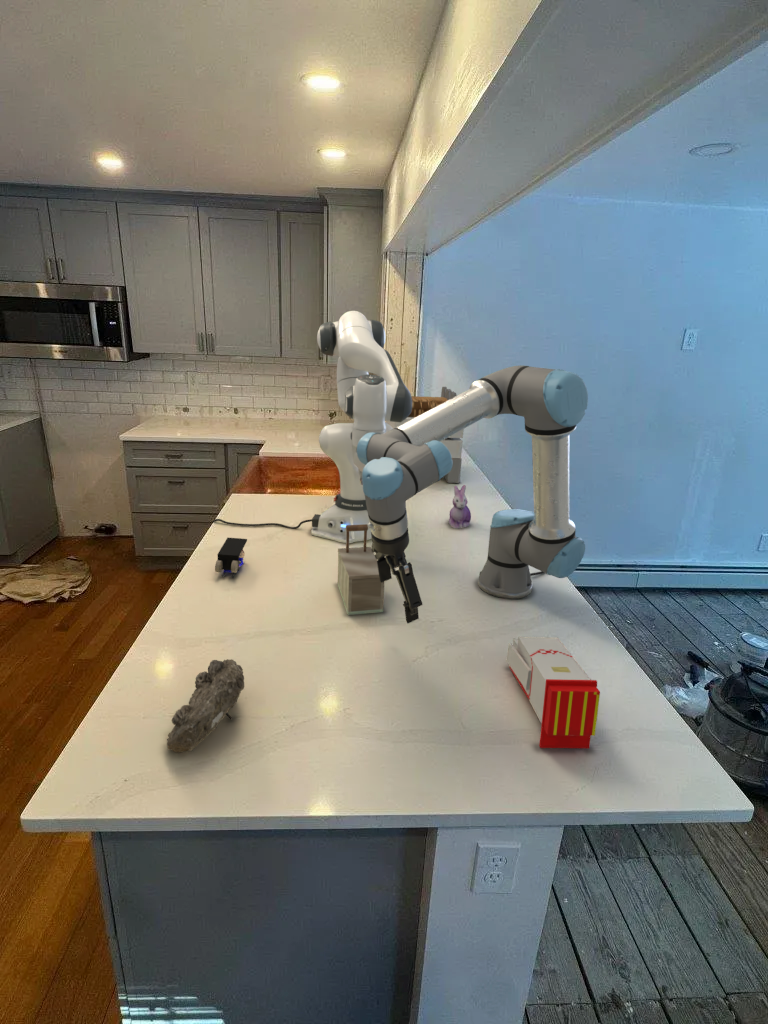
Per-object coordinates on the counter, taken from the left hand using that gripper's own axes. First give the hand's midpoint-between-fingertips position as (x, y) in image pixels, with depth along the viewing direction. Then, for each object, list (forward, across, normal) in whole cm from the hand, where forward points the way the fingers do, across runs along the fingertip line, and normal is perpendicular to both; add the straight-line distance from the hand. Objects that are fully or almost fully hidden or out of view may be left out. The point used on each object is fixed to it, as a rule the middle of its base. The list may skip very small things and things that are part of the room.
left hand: (367, 489), depth 154 cm
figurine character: (+28, +16, +36) cm, 49 cm away
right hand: (+15, -34, +1) cm, 38 cm away
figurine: (+28, +39, -46) cm, 67 cm away
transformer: (+27, +108, -55) cm, 124 cm away
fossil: (+29, -48, +42) cm, 70 cm away
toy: (+29, -58, -23) cm, 69 cm away
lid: (+18, -8, +3) cm, 20 cm away
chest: (+28, -8, +4) cm, 30 cm away
